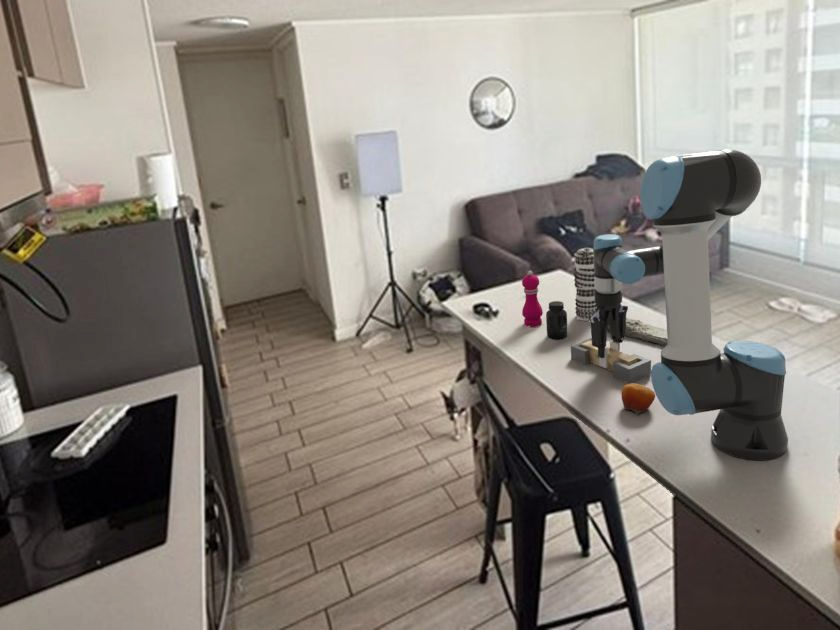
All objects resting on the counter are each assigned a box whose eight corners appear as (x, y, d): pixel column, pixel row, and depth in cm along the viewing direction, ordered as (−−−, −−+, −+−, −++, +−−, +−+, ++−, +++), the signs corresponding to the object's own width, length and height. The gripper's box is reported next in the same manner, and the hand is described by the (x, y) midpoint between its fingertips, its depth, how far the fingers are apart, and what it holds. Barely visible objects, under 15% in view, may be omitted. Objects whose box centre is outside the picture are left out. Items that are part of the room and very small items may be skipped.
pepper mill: (521, 327, 216) (518, 274, 209) (524, 320, 223) (520, 268, 216) (542, 327, 214) (539, 273, 207) (544, 320, 220) (541, 267, 214)
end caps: (650, 374, 172) (651, 360, 170) (629, 383, 168) (629, 369, 166) (591, 351, 191) (591, 338, 189) (571, 359, 187) (570, 345, 186)
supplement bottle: (568, 340, 201) (566, 306, 197) (547, 341, 202) (545, 307, 198) (567, 332, 207) (566, 299, 203) (547, 333, 209) (545, 300, 205)
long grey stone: (681, 358, 182) (699, 349, 188) (683, 342, 180) (701, 333, 186) (587, 327, 209) (605, 320, 214) (587, 312, 207) (605, 306, 212)
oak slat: (637, 373, 173) (637, 357, 171) (629, 377, 171) (629, 361, 170) (590, 355, 188) (589, 340, 186) (582, 358, 186) (581, 344, 184)
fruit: (611, 408, 154) (619, 378, 154) (624, 411, 160) (632, 382, 160) (641, 417, 148) (649, 386, 149) (654, 420, 154) (661, 389, 154)
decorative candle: (607, 316, 217) (605, 248, 208) (587, 323, 213) (586, 254, 204) (588, 310, 224) (586, 244, 216) (569, 317, 220) (567, 250, 212)
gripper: (619, 279, 178) (619, 352, 186) (576, 294, 171) (579, 369, 179) (639, 284, 172) (638, 359, 180) (596, 300, 164) (597, 377, 172)
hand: (609, 364), depth 179 cm, fingers closed on oak slat, 4 cm apart
